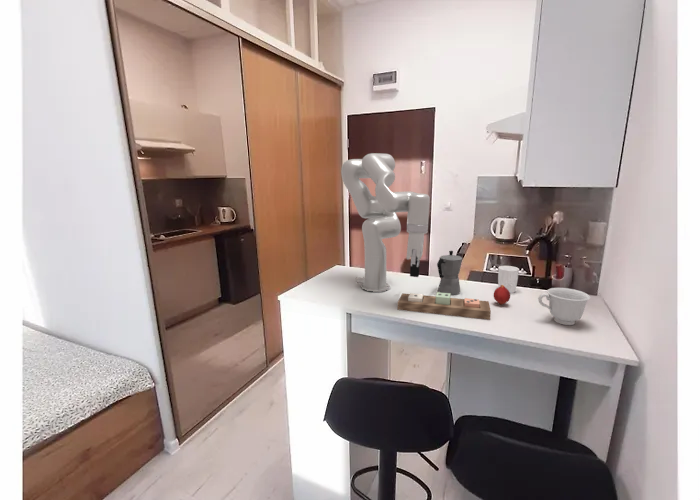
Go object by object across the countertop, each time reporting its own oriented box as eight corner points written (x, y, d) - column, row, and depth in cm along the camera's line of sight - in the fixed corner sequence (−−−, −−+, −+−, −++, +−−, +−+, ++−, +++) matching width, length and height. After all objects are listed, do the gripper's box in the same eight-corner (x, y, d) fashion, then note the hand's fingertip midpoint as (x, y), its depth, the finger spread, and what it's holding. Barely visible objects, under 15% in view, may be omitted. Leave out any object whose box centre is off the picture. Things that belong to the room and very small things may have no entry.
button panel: (397, 309, 123) (397, 302, 123) (402, 300, 133) (402, 293, 132) (490, 319, 113) (490, 311, 113) (488, 308, 122) (488, 301, 122)
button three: (464, 311, 118) (464, 302, 117) (464, 306, 123) (464, 297, 122) (479, 312, 116) (479, 303, 116) (478, 307, 121) (479, 298, 120)
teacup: (528, 313, 118) (531, 287, 116) (573, 314, 116) (577, 287, 114) (544, 328, 106) (548, 299, 104) (594, 330, 104) (599, 300, 102)
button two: (435, 304, 121) (435, 296, 120) (436, 300, 125) (436, 291, 125) (449, 306, 119) (450, 297, 119) (450, 301, 124) (450, 292, 123)
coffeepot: (448, 285, 149) (450, 246, 146) (467, 290, 142) (470, 250, 138) (427, 293, 140) (428, 252, 136) (446, 299, 133) (448, 255, 129)
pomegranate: (496, 300, 130) (498, 281, 129) (511, 304, 126) (513, 284, 125) (490, 304, 127) (491, 284, 125) (505, 308, 122) (507, 288, 121)
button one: (407, 305, 124) (408, 296, 124) (409, 300, 129) (410, 292, 128) (421, 306, 123) (421, 298, 122) (422, 302, 127) (423, 293, 127)
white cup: (492, 289, 144) (494, 267, 142) (505, 286, 147) (507, 264, 145) (507, 294, 137) (509, 271, 135) (521, 292, 140) (523, 269, 138)
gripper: (409, 224, 128) (407, 269, 132) (403, 231, 114) (401, 281, 119) (429, 225, 126) (426, 271, 130) (425, 232, 112) (422, 283, 116)
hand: (414, 276), depth 124 cm, fingers closed
